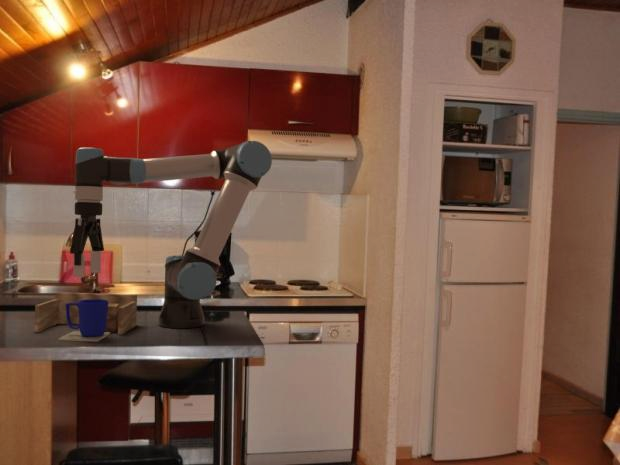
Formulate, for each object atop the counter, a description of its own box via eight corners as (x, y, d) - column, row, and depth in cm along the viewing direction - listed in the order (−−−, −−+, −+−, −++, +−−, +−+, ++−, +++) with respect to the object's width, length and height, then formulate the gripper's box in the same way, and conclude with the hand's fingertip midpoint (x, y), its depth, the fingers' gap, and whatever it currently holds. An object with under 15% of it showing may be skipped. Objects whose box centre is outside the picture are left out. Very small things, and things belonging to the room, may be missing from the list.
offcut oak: (118, 316, 185) (119, 303, 185) (116, 319, 179) (116, 306, 179) (102, 316, 184) (102, 303, 184) (98, 319, 178) (99, 306, 178)
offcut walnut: (122, 329, 185) (122, 316, 185) (114, 333, 178) (114, 320, 178) (103, 328, 186) (104, 315, 185) (95, 332, 179) (95, 319, 178)
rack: (136, 325, 191) (137, 294, 191) (121, 334, 175) (122, 301, 175) (56, 322, 191) (56, 292, 190) (34, 332, 175) (35, 298, 175)
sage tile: (110, 334, 175) (110, 332, 175) (97, 341, 164) (97, 339, 164) (73, 333, 175) (73, 331, 175) (58, 340, 164) (58, 338, 164)
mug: (71, 331, 174) (72, 298, 174) (111, 333, 174) (112, 299, 174) (59, 337, 166) (60, 302, 166) (100, 338, 165) (101, 303, 165)
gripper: (90, 202, 181) (89, 270, 182) (58, 199, 157) (56, 278, 157) (115, 203, 182) (113, 271, 182) (86, 200, 157) (84, 279, 157)
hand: (87, 275), depth 170 cm, fingers open, 13 cm apart
